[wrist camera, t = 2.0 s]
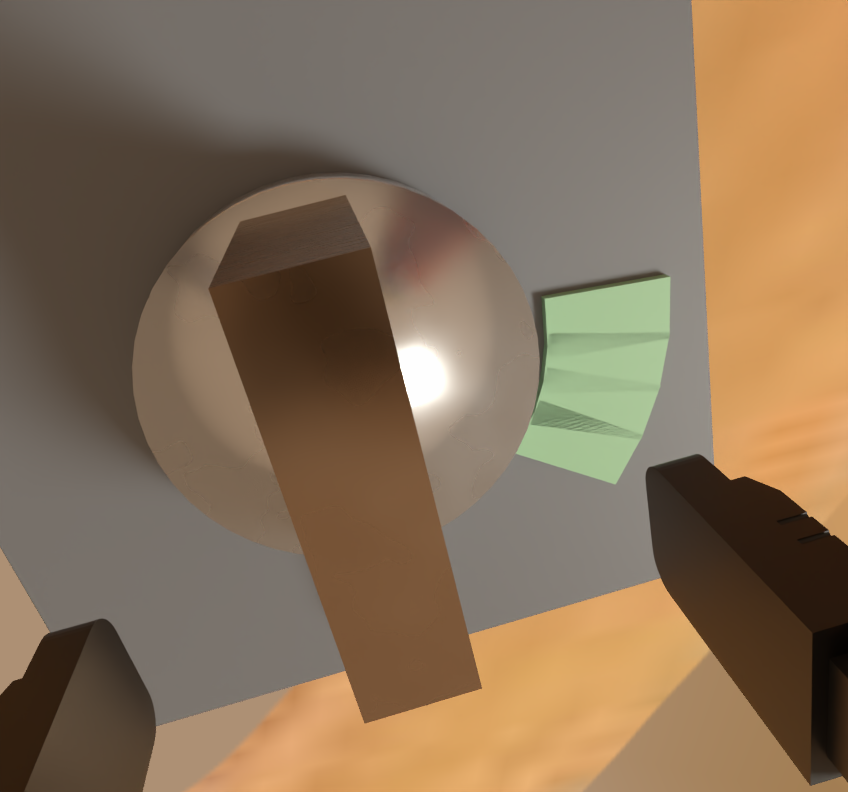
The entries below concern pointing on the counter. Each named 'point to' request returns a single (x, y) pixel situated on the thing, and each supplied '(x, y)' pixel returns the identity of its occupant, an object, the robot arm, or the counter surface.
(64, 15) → the dial plate
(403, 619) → the dial
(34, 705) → the robot arm
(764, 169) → the counter surface
